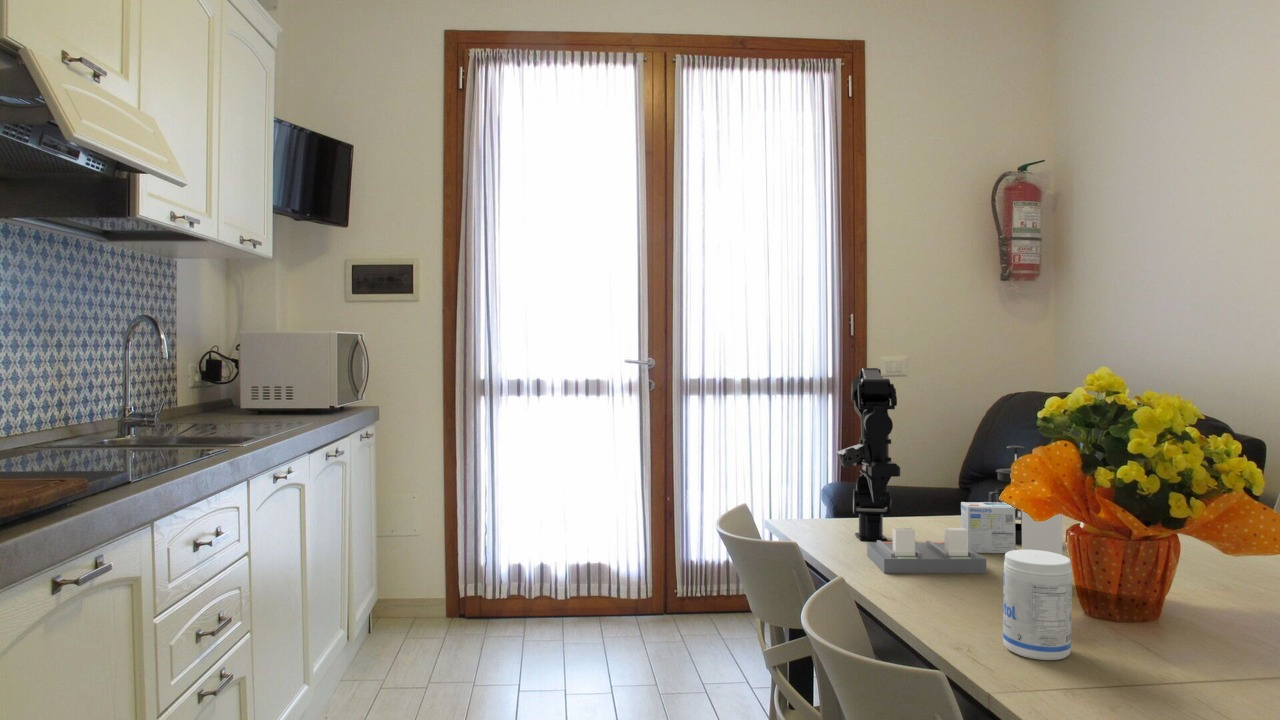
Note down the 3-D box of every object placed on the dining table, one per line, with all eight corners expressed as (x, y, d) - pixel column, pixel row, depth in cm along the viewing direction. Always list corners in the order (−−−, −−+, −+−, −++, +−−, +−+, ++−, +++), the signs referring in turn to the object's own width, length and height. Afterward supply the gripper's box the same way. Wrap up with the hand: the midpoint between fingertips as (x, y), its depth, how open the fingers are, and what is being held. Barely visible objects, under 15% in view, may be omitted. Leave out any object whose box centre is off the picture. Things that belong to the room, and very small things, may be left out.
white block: (892, 552, 178) (892, 527, 178) (911, 552, 178) (911, 527, 178) (896, 556, 175) (896, 530, 175) (915, 556, 175) (915, 530, 175)
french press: (1027, 535, 208) (1027, 443, 207) (1047, 544, 198) (1047, 447, 198) (981, 536, 207) (981, 444, 207) (999, 545, 198) (999, 448, 197)
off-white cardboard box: (1061, 581, 167) (1061, 486, 166) (1062, 590, 160) (1062, 492, 160) (1022, 577, 170) (1022, 484, 169) (1021, 586, 163) (1021, 490, 163)
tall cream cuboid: (944, 552, 178) (944, 527, 178) (963, 552, 178) (963, 527, 178) (948, 556, 175) (948, 530, 175) (968, 556, 175) (968, 530, 175)
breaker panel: (867, 555, 188) (867, 538, 188) (961, 555, 188) (961, 538, 188) (884, 573, 173) (884, 555, 173) (986, 573, 173) (986, 555, 173)
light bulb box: (1006, 547, 196) (1006, 501, 196) (1016, 554, 189) (1016, 506, 189) (959, 546, 197) (959, 501, 197) (968, 553, 190) (968, 506, 190)
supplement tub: (992, 640, 133) (992, 548, 133) (1051, 639, 134) (1051, 548, 133) (1021, 663, 124) (1021, 564, 123) (1084, 662, 124) (1084, 563, 124)
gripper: (831, 429, 198) (831, 495, 198) (848, 438, 179) (848, 510, 180) (878, 429, 198) (879, 495, 198) (900, 438, 179) (901, 510, 179)
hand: (875, 502), depth 189 cm, fingers closed
